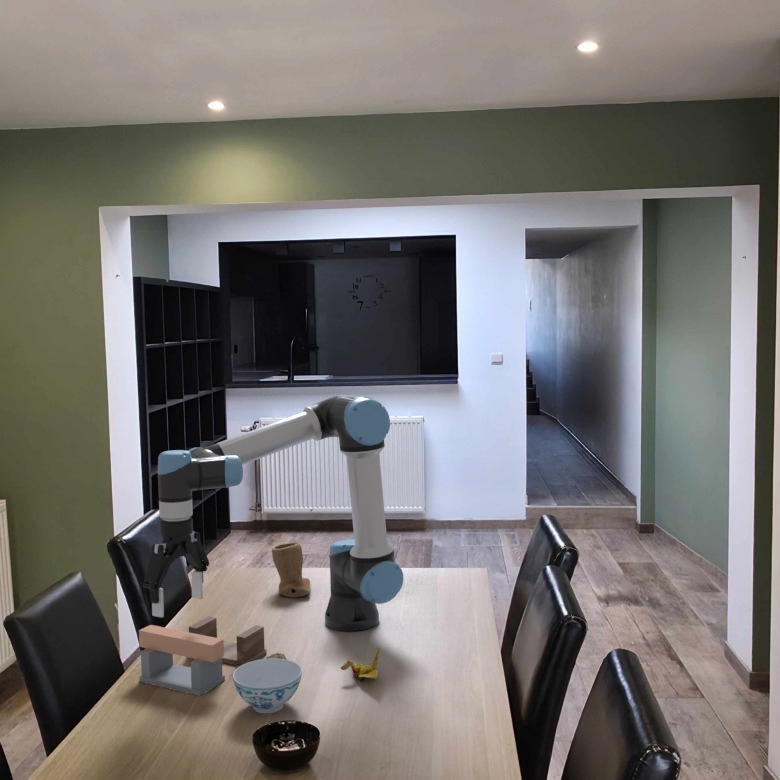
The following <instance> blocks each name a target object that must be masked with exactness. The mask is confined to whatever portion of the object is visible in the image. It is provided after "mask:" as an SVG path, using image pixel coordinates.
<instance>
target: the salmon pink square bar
mask: <svg viewBox="0 0 780 780" xmlns="http://www.w3.org/2000/svg"><path fill="white" fill-rule="evenodd" d="M138 641H139V642H138V643H139V646H138V647H140V648H144V649H146V648H148V649H153V650H157V651H162V652H166V653H171V654H173V655H175V656H180V657H181V656H182V657H184V658H190V659H194V660H196V659H199V660H203V661H208V662H215V661H217V660H218V659H220V658H222V657H223V656H224V641H225V640H224V638H223V639H222V638H219V637H217V638H214V637H209V636H204V635H199V634H194V633H189V631H183V630H177V629H175V628H169V627H163V626H160V625H153V624H150V625H147V626H145V627H143V628H141V629H138Z"/></svg>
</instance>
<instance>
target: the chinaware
mask: <svg viewBox="0 0 780 780" xmlns="http://www.w3.org/2000/svg"><path fill="white" fill-rule="evenodd" d="M302 675H303V670H302V666H301V665H299V664H298V663H297V662H296V661H293V660H289V659H287V660H286V659H277V658H270V659H266V658H259V659H257V660H255V661H251V662H248V663H246V664H243V665H241V666H237V668H236V669H235V670H234V671H233V674H232V681H233V683H234V687H235V690H236V692H237V693H238V695H239V697H241V699H242V700H243V701H244V702H246V703H247V704H248V705H249V706H251V707H252V708H253V711H255V712H257V713H260V714H273V713H276V712H279V711H281V710H282V709H283V708H284V706H285V704H286V703H287V702H288V701H289V700H290V699H292V697H293V696H294V695H295V694H296V692H297V690H298V688H299V686H300V684H301V680H302Z"/></svg>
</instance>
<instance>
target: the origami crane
mask: <svg viewBox="0 0 780 780" xmlns="http://www.w3.org/2000/svg"><path fill="white" fill-rule="evenodd" d="M380 653H381V652H380V647H378V648H377V649H376V651H375V653H374V656H373V657H374V659H373V661H372V664H371V665H369V664H361V663H356V665H355V663H354V661H353V660H347V661H346V662H344V663H343V665H342V666H341V667H340V669H341V670H343V671H346V670H348V669H349V667H350V668H351V672H352V673H353V674H354V675H355V677H356V680H357V681H358V680H359V681H360V682H362V678H368V679H374V680H377V679H378V673H379V670H378V669H377V665H378V661H379V655H380ZM359 681H358V682H359Z"/></svg>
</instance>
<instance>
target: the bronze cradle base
mask: <svg viewBox="0 0 780 780" xmlns="http://www.w3.org/2000/svg"><path fill="white" fill-rule="evenodd" d="M217 621H218V620H217V617H214V616H207V617H205V618H203V619H201V620H199V621H197V622H196V623H193V624H192V625H190V626H188V632H189V633H194V634H199V635H204V636H209V637H214V638H218V626H217V625H218V622H217ZM235 637H236V642H233V641H228V640H224V656H223V657H222V663H223V662H225V663H224V664H228V663H229V664H228V665H232V664H233V666H237V665H239V666H238V667H240V666H241V665H243V664H246V663H248V662H251V661H255V660H259V659H261V658H262V657H264V656H266V655H267V648H265V627H264V626H263V625H262V626H261V625H253V626H252V627H250V628H248V629H247V630H244V631H243V632H241V633H240V634H238V635H236V636H235ZM263 655H264V656H263ZM260 657H261V658H260ZM258 658H259V659H258Z"/></svg>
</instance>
